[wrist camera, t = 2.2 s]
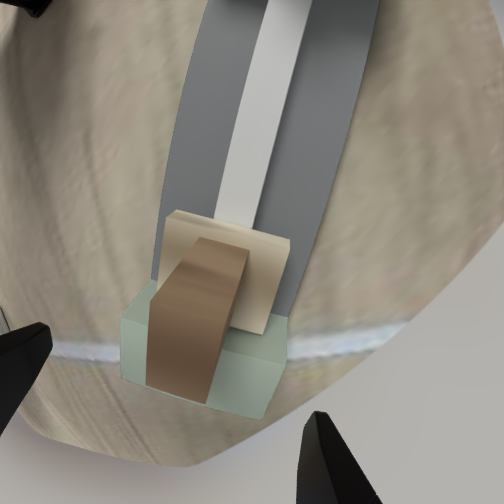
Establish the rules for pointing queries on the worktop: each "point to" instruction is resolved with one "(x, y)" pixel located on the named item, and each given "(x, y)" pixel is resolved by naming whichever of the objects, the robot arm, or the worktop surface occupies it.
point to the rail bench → (298, 129)
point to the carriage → (207, 298)
